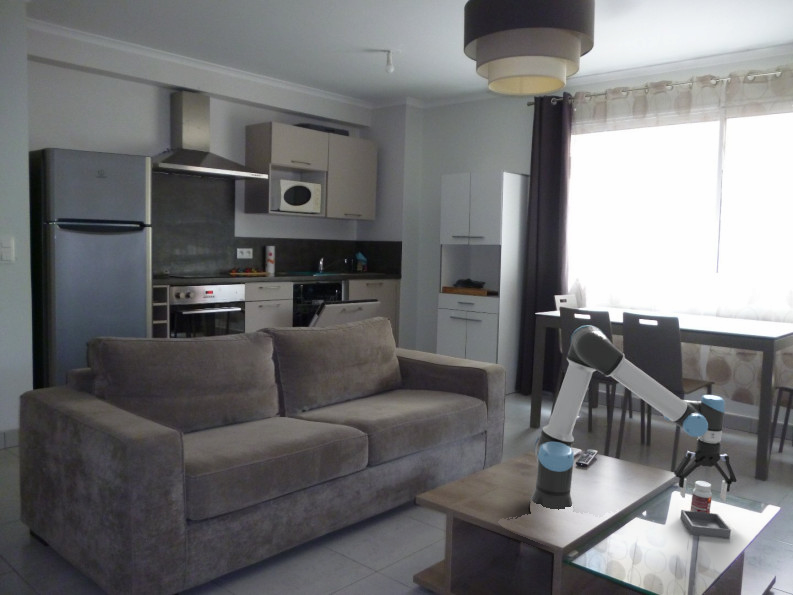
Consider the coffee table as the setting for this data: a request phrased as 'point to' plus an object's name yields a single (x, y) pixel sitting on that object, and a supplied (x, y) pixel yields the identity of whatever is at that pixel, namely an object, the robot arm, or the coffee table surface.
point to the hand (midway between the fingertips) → (702, 498)
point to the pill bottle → (701, 497)
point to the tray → (705, 524)
